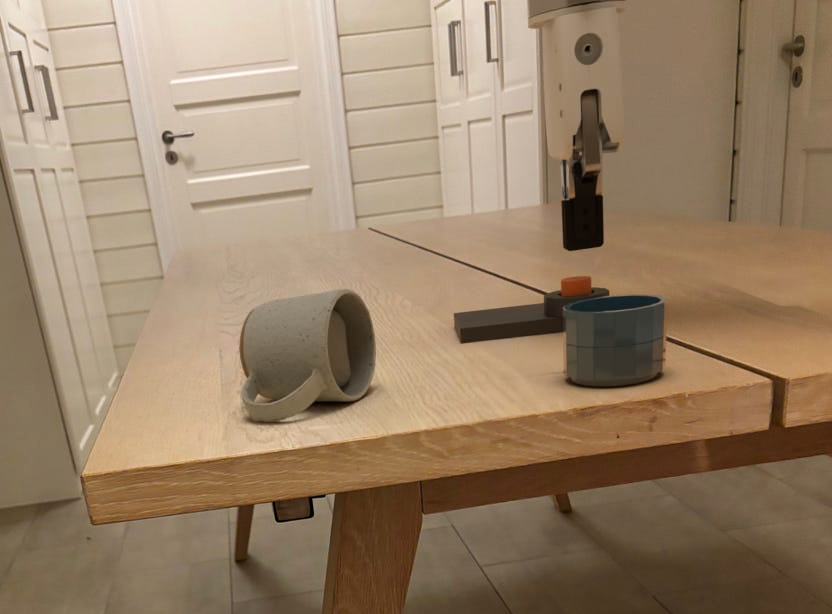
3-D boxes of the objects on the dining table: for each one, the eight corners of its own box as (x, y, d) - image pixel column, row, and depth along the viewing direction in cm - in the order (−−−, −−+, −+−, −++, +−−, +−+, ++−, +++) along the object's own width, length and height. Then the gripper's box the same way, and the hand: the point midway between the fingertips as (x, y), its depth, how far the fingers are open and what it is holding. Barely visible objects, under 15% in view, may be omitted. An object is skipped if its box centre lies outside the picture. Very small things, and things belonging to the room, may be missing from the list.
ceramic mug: (290, 386, 77) (275, 286, 74) (382, 386, 73) (371, 280, 70) (218, 425, 69) (197, 314, 65) (317, 426, 65) (300, 309, 62)
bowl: (650, 362, 71) (652, 290, 68) (675, 381, 65) (678, 304, 62) (557, 372, 71) (556, 301, 69) (573, 392, 65) (572, 316, 63)
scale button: (588, 293, 86) (588, 275, 85) (593, 297, 84) (593, 278, 83) (559, 296, 86) (558, 278, 86) (563, 300, 84) (563, 281, 83)
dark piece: (592, 312, 92) (592, 279, 91) (614, 329, 84) (614, 293, 82) (454, 328, 93) (452, 295, 92) (461, 346, 85) (459, 310, 83)
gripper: (647, -28, 68) (648, 249, 76) (605, 3, 81) (609, 236, 89) (541, -10, 69) (553, 262, 77) (516, 18, 82) (528, 247, 90)
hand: (583, 247), depth 83 cm, fingers closed
